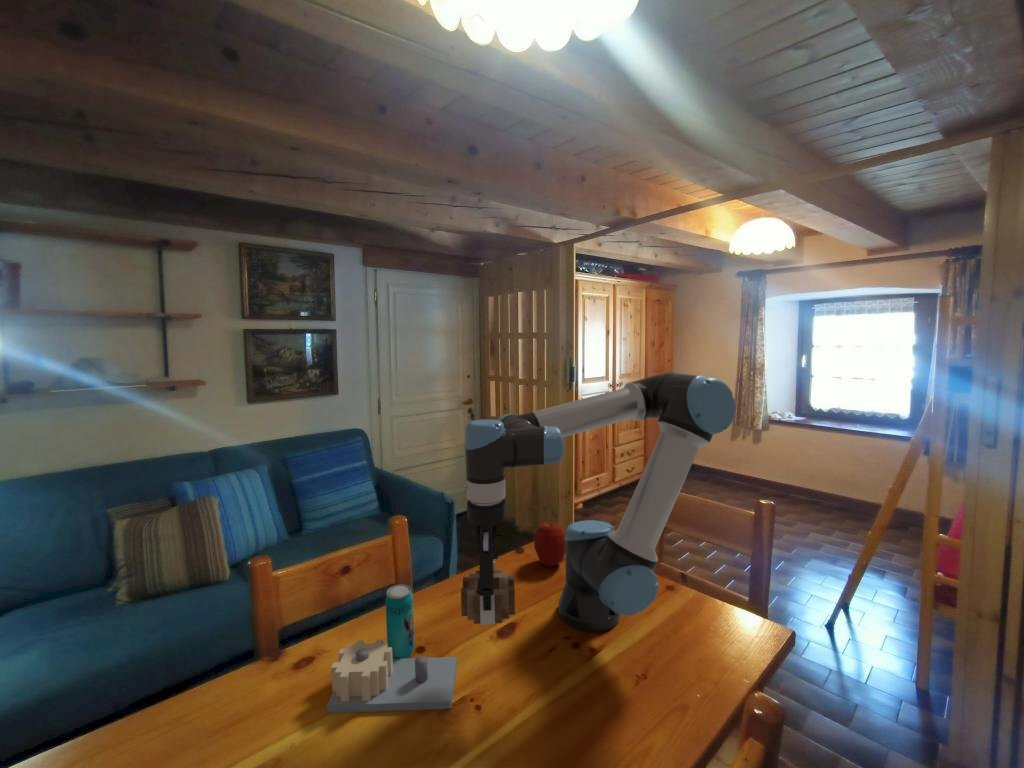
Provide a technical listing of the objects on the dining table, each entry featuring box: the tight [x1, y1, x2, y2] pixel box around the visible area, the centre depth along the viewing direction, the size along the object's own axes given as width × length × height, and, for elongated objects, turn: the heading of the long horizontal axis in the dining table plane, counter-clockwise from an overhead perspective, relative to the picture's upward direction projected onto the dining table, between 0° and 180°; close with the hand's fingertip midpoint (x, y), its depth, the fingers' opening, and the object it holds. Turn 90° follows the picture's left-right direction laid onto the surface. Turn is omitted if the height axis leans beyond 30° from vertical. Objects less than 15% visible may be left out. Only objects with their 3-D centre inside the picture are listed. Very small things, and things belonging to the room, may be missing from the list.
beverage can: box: [384, 583, 415, 659], centre depth 100 cm, size 6×6×15 cm
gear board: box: [326, 639, 458, 714], centre depth 92 cm, size 23×12×8 cm, turn 91°
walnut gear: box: [460, 569, 516, 625], centre depth 92 cm, size 10×10×5 cm
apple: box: [533, 519, 566, 568], centre depth 140 cm, size 10×10×14 cm
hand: (488, 605), depth 92 cm, fingers closed on walnut gear, 10 cm apart
